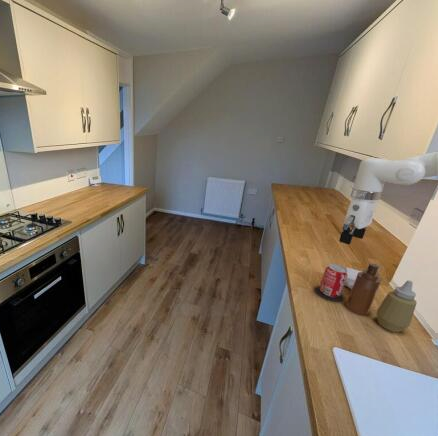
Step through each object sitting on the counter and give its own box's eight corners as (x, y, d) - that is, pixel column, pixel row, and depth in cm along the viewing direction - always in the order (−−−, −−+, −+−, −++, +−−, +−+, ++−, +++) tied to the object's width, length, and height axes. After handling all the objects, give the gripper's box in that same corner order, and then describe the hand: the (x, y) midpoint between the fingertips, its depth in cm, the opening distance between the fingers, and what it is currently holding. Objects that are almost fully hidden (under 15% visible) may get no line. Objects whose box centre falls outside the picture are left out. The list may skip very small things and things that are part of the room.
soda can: (338, 291, 97) (347, 266, 93) (341, 301, 91) (351, 275, 87) (317, 286, 100) (325, 261, 96) (319, 295, 95) (327, 269, 91)
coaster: (346, 297, 95) (347, 296, 94) (335, 304, 90) (335, 303, 90) (322, 285, 102) (322, 284, 102) (310, 291, 98) (311, 290, 98)
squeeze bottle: (395, 319, 83) (416, 276, 77) (412, 337, 76) (437, 291, 70) (367, 315, 85) (386, 272, 79) (381, 332, 78) (403, 286, 72)
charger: (340, 291, 98) (342, 275, 109) (369, 301, 92) (368, 283, 103) (343, 281, 96) (345, 266, 107) (373, 291, 91) (372, 274, 102)
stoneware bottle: (371, 311, 87) (390, 267, 81) (363, 317, 84) (382, 272, 78) (350, 300, 92) (366, 258, 86) (342, 306, 90) (358, 263, 83)
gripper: (367, 200, 74) (351, 249, 80) (389, 194, 82) (374, 239, 88) (340, 195, 81) (327, 241, 86) (363, 190, 89) (350, 232, 94)
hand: (350, 240), depth 87 cm, fingers open, 9 cm apart
